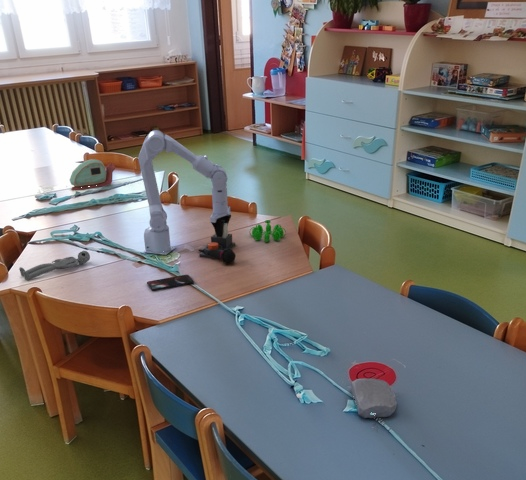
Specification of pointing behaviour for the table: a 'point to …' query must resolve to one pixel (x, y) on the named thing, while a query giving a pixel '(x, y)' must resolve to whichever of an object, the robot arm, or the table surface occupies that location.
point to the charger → (224, 231)
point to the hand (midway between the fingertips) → (221, 235)
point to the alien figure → (55, 265)
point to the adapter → (205, 255)
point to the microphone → (222, 255)
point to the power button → (213, 245)
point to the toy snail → (91, 175)
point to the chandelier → (267, 232)
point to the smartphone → (170, 282)
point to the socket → (222, 240)
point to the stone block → (373, 397)
